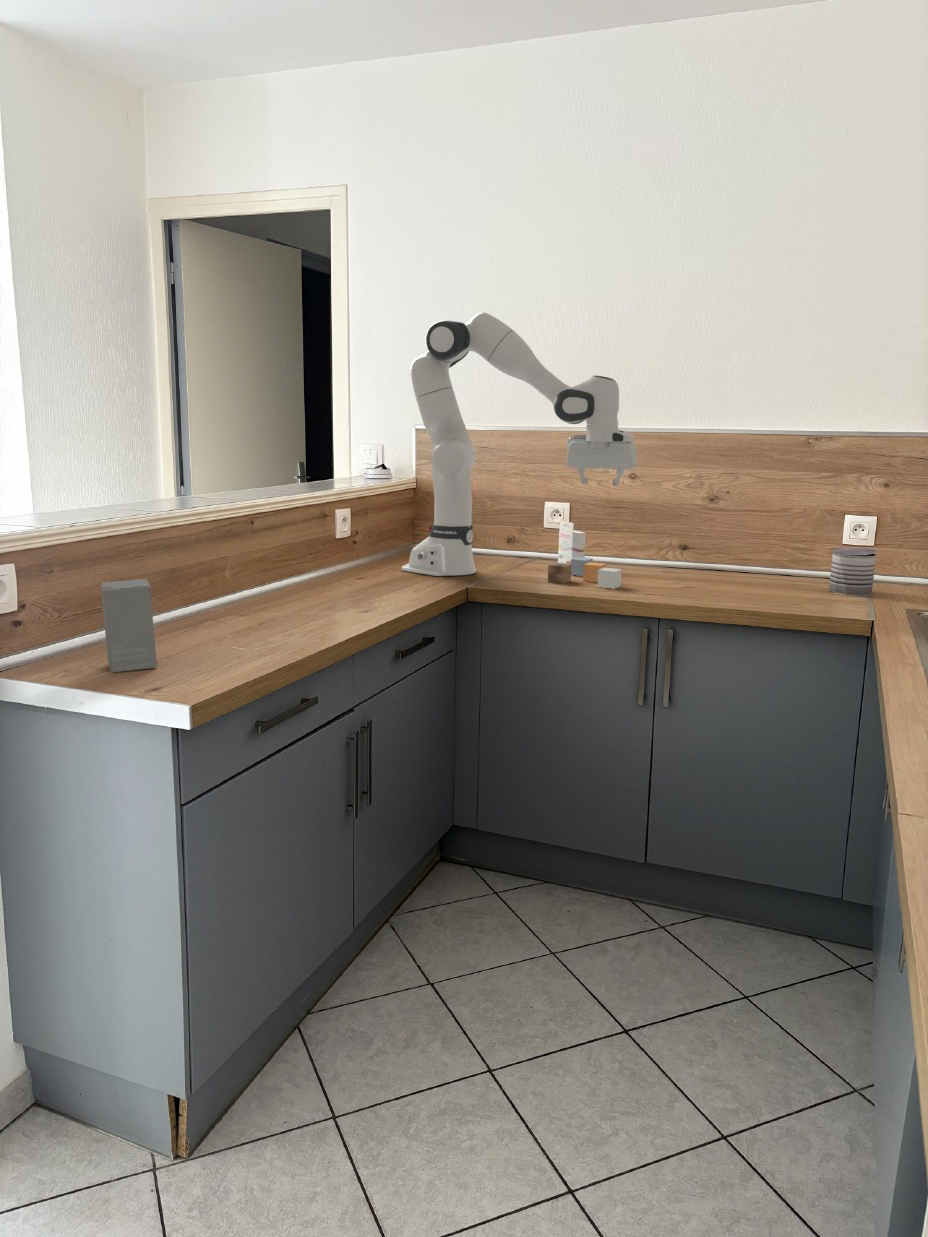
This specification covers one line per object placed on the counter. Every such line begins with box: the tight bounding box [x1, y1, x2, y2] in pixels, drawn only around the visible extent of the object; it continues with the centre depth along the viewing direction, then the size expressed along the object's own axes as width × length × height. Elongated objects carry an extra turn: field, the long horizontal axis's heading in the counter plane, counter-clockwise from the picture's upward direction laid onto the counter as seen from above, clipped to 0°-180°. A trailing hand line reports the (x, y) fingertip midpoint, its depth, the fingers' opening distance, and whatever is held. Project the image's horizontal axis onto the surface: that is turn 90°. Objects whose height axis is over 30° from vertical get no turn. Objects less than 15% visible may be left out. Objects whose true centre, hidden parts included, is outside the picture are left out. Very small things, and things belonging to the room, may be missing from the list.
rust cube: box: [582, 561, 608, 583], centre depth 269 cm, size 5×5×5 cm
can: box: [828, 547, 878, 597], centre depth 258 cm, size 11×11×12 cm
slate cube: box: [571, 557, 594, 578], centre depth 279 cm, size 5×5×5 cm
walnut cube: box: [547, 562, 572, 584], centre depth 267 cm, size 5×5×5 cm
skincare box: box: [100, 578, 158, 674], centre depth 169 cm, size 8×7×16 cm
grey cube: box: [596, 567, 622, 590], centre depth 260 cm, size 5×5×5 cm
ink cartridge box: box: [557, 520, 587, 564], centre depth 289 cm, size 9×5×15 cm, turn 25°
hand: (600, 484), depth 267 cm, fingers open, 8 cm apart
